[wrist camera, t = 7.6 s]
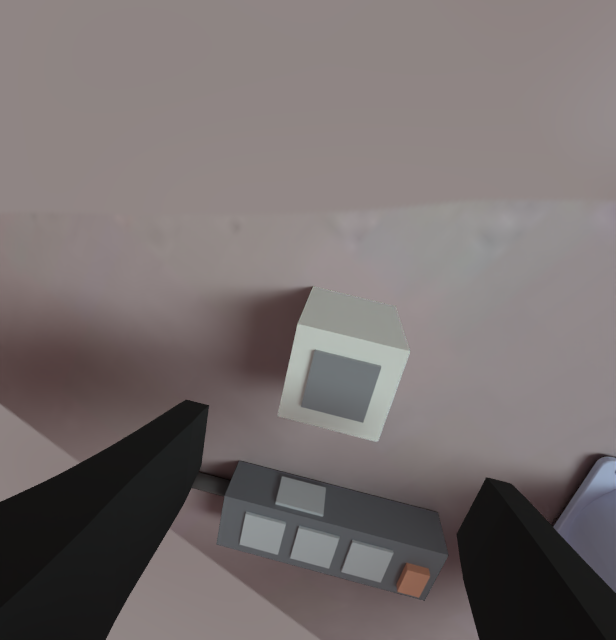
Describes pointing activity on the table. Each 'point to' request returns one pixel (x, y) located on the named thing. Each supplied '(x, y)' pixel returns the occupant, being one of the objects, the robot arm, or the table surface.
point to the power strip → (329, 529)
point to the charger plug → (344, 364)
